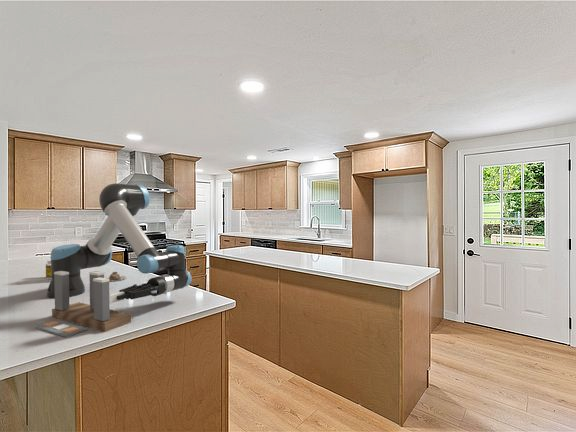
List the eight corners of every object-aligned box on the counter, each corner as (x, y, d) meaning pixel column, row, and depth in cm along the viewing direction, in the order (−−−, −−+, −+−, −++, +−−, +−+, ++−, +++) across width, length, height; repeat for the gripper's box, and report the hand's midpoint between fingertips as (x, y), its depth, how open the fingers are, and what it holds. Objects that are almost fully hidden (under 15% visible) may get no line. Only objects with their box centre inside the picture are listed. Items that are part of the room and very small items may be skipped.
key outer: (100, 316, 116) (100, 277, 116) (109, 319, 114) (109, 278, 114) (93, 318, 114) (92, 278, 114) (102, 321, 112) (102, 280, 111)
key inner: (61, 306, 127) (61, 270, 127) (69, 308, 125) (69, 272, 124) (54, 308, 125) (54, 272, 124) (62, 310, 123) (61, 273, 122)
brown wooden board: (52, 316, 125) (51, 309, 125) (78, 309, 134) (78, 302, 134) (105, 331, 111) (105, 323, 111) (131, 322, 120) (130, 314, 120)
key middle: (96, 307, 127) (95, 271, 127) (104, 309, 125) (104, 272, 124) (89, 308, 125) (89, 272, 124) (98, 311, 123) (97, 273, 122)
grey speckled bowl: (100, 280, 189) (100, 272, 188) (122, 276, 197) (122, 269, 197) (107, 283, 180) (106, 275, 180) (129, 280, 189) (129, 272, 188)
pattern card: (35, 327, 114) (35, 325, 114) (57, 321, 121) (57, 319, 121) (65, 337, 106) (65, 334, 106) (86, 330, 112) (86, 327, 112)
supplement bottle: (43, 278, 189) (43, 261, 188) (48, 276, 194) (48, 259, 194) (54, 278, 190) (54, 260, 190) (59, 276, 195) (58, 259, 195)
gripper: (171, 296, 134) (118, 313, 113) (149, 292, 140) (95, 307, 119) (171, 278, 134) (118, 291, 112) (149, 274, 139) (95, 287, 118)
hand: (106, 299), depth 116 cm, fingers closed
